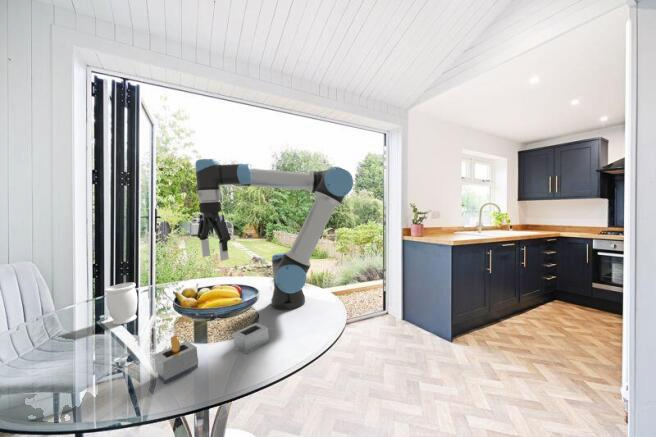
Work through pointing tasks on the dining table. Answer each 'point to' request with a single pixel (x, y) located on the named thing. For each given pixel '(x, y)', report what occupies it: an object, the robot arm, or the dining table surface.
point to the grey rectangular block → (175, 360)
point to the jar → (122, 302)
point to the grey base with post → (175, 350)
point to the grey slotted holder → (251, 337)
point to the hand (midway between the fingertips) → (215, 258)
